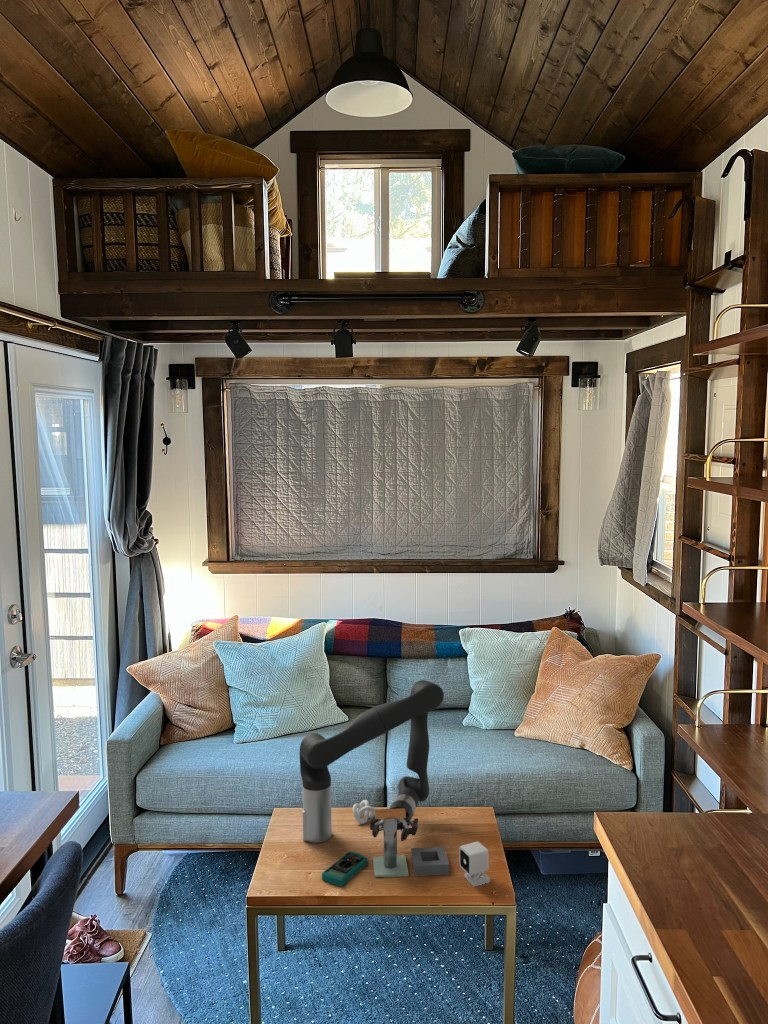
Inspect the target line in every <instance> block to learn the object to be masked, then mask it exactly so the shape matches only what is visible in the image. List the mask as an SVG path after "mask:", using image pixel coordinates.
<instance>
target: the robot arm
mask: <svg viewBox="0 0 768 1024" xmlns="http://www.w3.org/2000/svg"><path fill="white" fill-rule="evenodd" d="M444 693H445V692H444V691H443V689H442V687H441V686H440V685H438V684H437V683H435V682H431V681H428V680H425V679H421V680H418V681H416V682H415V683H414V684H413V685H412V687H411V689H410V694H409V696H406V697H404V698H401V699H398V700H394V701H390V702H384V703H382V704H381V703H380V704H378V705H376V706H373V707H371V708H369V709H367V710H365V711H364V712H362V713H359V714H358V715H357V716H356V717H355V718H354V719H353V720H352V721H351V722H350V723H349V725H347V727H346V728H344V729H343V730H342V731H341V732H339V733H337V734H334V735H333V736H331V737H328V738H325V737H324V736H323V735H322V734H320V733H317V732H316V733H315V732H312V733H309V734H307V735H305V737H303V739H302V741H301V742H300V745H299V770H300V776H301V780H302V781H301V782H302V783H301V784H302V837H303V838H302V841H303V842H304V841H305V842H309V843H324V842H326V841H328V840H330V839H331V838H332V835H333V833H332V832H333V827H332V826H333V825H332V824H333V823H332V776H331V773H330V771H329V767H328V766H330V765H332V764H333V763H335V762H336V761H338V760H339V759H340V758H342V757H343V756H345V755H346V754H348V753H349V752H352V751H353V750H355V749H356V748H360V747H361V746H363V745H365V744H366V743H369V742H370V741H373V740H375V739H377V738H379V737H380V736H383V735H384V734H386V733H388V732H390V731H392V730H394V729H395V728H397V727H399V726H401V725H402V724H404V723H406V722H408V721H410V731H409V741H408V742H409V743H408V750H407V751H408V752H407V757H406V758H407V759H406V768H407V770H409V771H412V772H414V773H415V774H417V776H418V778H416V777H412V776H403V777H402V778H400V779H399V781H398V782H399V783H398V787H397V788H398V789H397V791H398V794H397V796H396V798H395V799H394V800H393V802H392V803H391V804H390V807H388V809H402V808H405V811H406V818H397V831H400V832H401V834H400V841H401V842H404V841H405V840H408V839H407V838H408V837H409V836H410V835H411V836H413V837H414V836H415V837H416V835H417V831H418V828H419V819H418V818H414V819H413V817H414V816H415V811H416V808H417V807H418V805H419V802H425V801H426V800H427V799H428V797H429V795H430V784H429V778H428V761H429V753H430V738H429V729H428V719H429V712H432V711H435V710H436V709H438V708H439V706H441V704H442V703H443V701H444V697H445V695H444ZM412 819H413V820H412ZM369 828H370V830H369V831H371V835H372V836H373V838H377V836H378V835H379V833H380V832H381V831H383V832H384V819H375V816H374V817H373V818H371V820H370V821H369Z"/></svg>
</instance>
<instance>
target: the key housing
mask: <svg viewBox="0 0 768 1024" xmlns="http://www.w3.org/2000/svg"><path fill="white" fill-rule="evenodd" d="M410 855H411V856H410V860H411V862H412V863H411V864H412V868H413V872H414V876H415V877H420V876H421V877H425V876H439V875H441V876H443V875H450V862H449V858H448V856H447V855H448V854H447V853H446V849H445V846H427V847H425V846H424V847H411V848H410Z"/></svg>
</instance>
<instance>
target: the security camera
mask: <svg viewBox="0 0 768 1024" xmlns="http://www.w3.org/2000/svg"><path fill="white" fill-rule="evenodd" d="M458 848H459V849H458V851H459V852H458V853H459V855H458V858H459V867H460V868H461V869H462V870H463V871H464V872H465V873H464V879H465V878H466V879H467V880H468V883H470V885H472V886H473V887H474V888H475V886H476V887H479V886H478V885H480V886H482V884H483V885H486V884H485V883H487V884H490V883H491V877H490V876H489V875H487V873H485V872H487V871H490V870H489V866H490V865H489V863H490V862H489V859H490V858H489V857H490V856H489V855H490V854H489V853H490V852H489V850H488V848H486V847H485V846H484V845H483V844H482V843H481V842H480V841H475V842H471V843H467V844H463V845H460V846H459V847H458ZM466 879H465V880H466ZM467 880H466V881H467ZM489 882H490V883H489Z"/></svg>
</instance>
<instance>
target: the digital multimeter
mask: <svg viewBox="0 0 768 1024" xmlns="http://www.w3.org/2000/svg"><path fill="white" fill-rule="evenodd" d="M368 862H369V861H368V857H366V856H365V855H363V854H360V853H357V852H353V851H347V852H346V853H345V854H344V855H343V856H341V858H339V859H338V860H337V861H335V862H334V863H333V864H332V865H331V866H329V867H328V868H326V870H325V869H324V871H323V872H322V873H321V880H323V881H324V882H326V883H329V884H332V885H335V886H338V887H343V886H344V885H346V883H347V882H348V881H350V880H351V879H352V878H353V877H354V876H355V875H356V874H357V873H358V871H359V870H360V871H361V870H363V867H364V868H365V867H366V866H368V864H369V863H368ZM360 871H359V872H360ZM351 877H352V878H351Z"/></svg>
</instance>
